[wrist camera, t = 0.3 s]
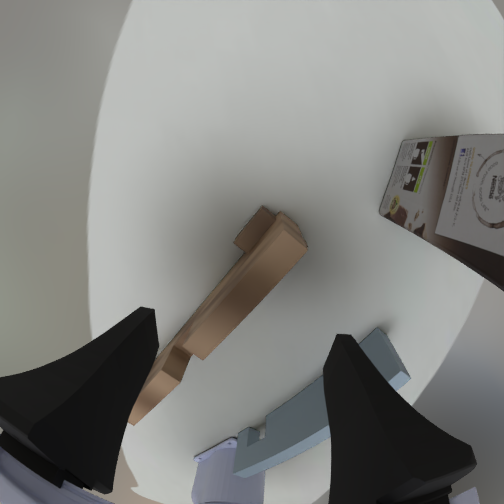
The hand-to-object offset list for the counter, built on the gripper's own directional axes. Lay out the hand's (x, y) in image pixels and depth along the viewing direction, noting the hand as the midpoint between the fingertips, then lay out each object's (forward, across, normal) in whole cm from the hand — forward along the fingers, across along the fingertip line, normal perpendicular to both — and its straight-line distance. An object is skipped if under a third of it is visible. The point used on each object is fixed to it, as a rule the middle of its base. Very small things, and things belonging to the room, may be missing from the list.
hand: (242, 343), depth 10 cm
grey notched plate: (+9, -7, +15) cm, 19 cm away
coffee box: (+12, -14, -5) cm, 18 cm away
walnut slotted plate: (+10, +4, +7) cm, 13 cm away
